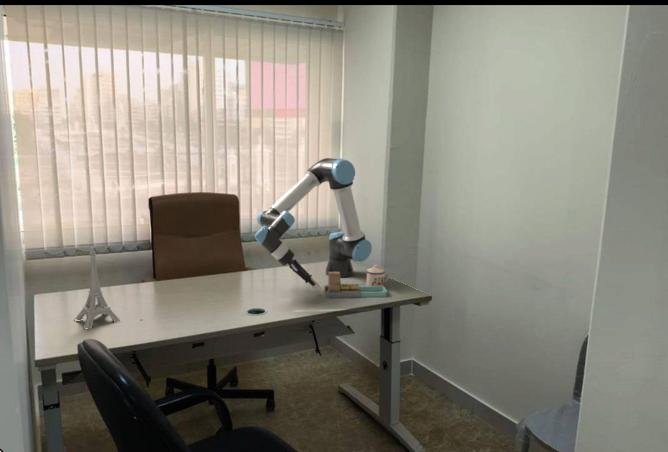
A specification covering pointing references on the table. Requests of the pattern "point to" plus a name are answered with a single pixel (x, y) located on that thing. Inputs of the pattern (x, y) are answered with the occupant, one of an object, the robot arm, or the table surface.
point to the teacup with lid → (376, 276)
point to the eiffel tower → (95, 293)
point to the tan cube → (344, 287)
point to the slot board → (342, 294)
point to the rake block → (334, 281)
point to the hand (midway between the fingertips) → (319, 288)
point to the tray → (373, 294)
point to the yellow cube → (354, 287)
